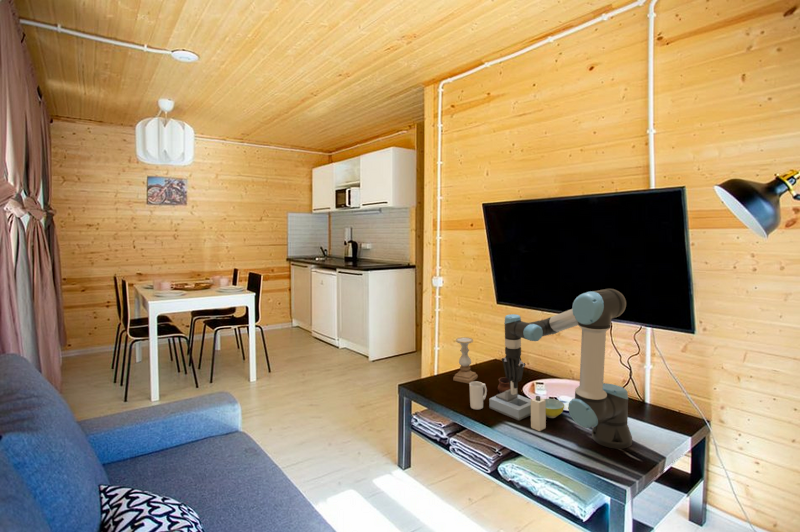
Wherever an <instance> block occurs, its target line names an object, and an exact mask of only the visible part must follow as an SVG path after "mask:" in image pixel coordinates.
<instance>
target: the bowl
mask: <svg viewBox="0 0 800 532" xmlns="http://www.w3.org/2000/svg"><path fill="white" fill-rule="evenodd" d="M543 399H544V400H546V418H549V419H555V418H557V417H559V415H561V414H562V413H563V412H564V409H565V404H564V402H562V401H561V400H558V399H554V398H543Z"/></svg>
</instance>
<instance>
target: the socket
mask: <svg viewBox="0 0 800 532" xmlns="http://www.w3.org/2000/svg"><path fill="white" fill-rule="evenodd" d="M488 401H489V402H488V403H489V406H488V407H489V409H491V410H492V411H493V410H494V411H496V412H497V413H500V414H502V415H505V416H507V417H510V418H512V419H514V420H516V421H521V420H523V419H525V418H528V417H529V416H530V417H531V398H528V397H526V396H523V395H520V394H518V397H517V398H515V399H513V400H510V401H508V402H507V401H505V400H502V399H500V398H497V397H496V395H494V396H492V397H490V398H489V399H488Z"/></svg>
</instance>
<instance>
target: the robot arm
mask: <svg viewBox="0 0 800 532" xmlns="http://www.w3.org/2000/svg"><path fill="white" fill-rule="evenodd" d="M626 307H627V300H626V298H625V296H624V294H623V293H622V292H620V291H619V290H617V289H614V288H605V289H600V290H599V289H598V290H592V291H591V290H590V291H586V292H583V293H581V294H579V295H578V296H576V298H575V299H574V300H573V302H572V308H571V309H567V310H565V311H563V312H561V313H560V312H559V313H557V314H554V315H553V316H550V317H547V318H544V319H540V320H536V321H530V322H526V321H522V317H521V315H519V314H513V313H512V314H507V315H505V316H504V346H505V347H504V353H505V354H504V355H505V357H502V358H501V359H500V360H501V362H502V364H503V369H504V376H505V377H506V378H508V379H509V381H510V387H511V394H512V395H514V394H517V388H518V387H519V382H521V381H522V379H523V375H524V374H523V373H524V369H525V367H526V365H527V364H526V362H523V361H522V358H521V355H522V339H525V340H527V341H531V342H539V341H540V340H541V339H542V337H545V336H549V335H556V334H558V333H560V332H561V331H562V332H563V331H565V330H569V329H571V328H574V327H577V326H578V327H579V328H580V329H581V342H580V343H581V345H580V363H579V364H580V367H579V368H580V369H579V386H577V387H576V388H575V390H574V398H572V399H571V400H570V401H569V402H568V407H567V408H568V412H569V415H570V417H571V418H572V419H573V421H574V423H576V424H577V425H578V426H579V427H582V428H584V429H591V428H592V430H591V438H592V440H593V441H594V442H595V443H596V444H598V445H601V446H602V447H603V446H604V447H606V448H610V449H616V450H617V449H627V448H629V447H631V446H632V445H633V436H632V433H631V431H630V426H629V424H628V423H629V422H628V416H629V414H628V411H629V407H628V406H629V393H628V391H627V389H626V388H624V387H623V386H620V385H617V384H612V383H604V377H605V359H606V358H605V357H606V335H607V331H608V330H610V329H612V328H611V327H612V326H611V324H612V319H615V318H617V317H620V316H621V315H622V314H623V313H624V312H625V310H626Z"/></svg>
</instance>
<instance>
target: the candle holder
mask: <svg viewBox="0 0 800 532" xmlns="http://www.w3.org/2000/svg"><path fill="white" fill-rule="evenodd" d="M455 342H456V343H457V344H460V346H461V348H460V352H461V356H460V357H459V359H458V364H459V365H460V366H459V371H458V372H457V373H454V376H453V378H452V380H453V381H455V382H459V383H462V384H463V383H464V384H469V383H470V382H474V381H476V380H477V379H478V377H479V376H478V374H477V373H476V371H472V370H471V364H472V360H471V357H470V356H469V351H470V349H469V347H468V346H469V345H470V344H471V343H473V342H474V339H473V338H472V337H466V336H464V337H463V336H462V337H457V338H455Z"/></svg>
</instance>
